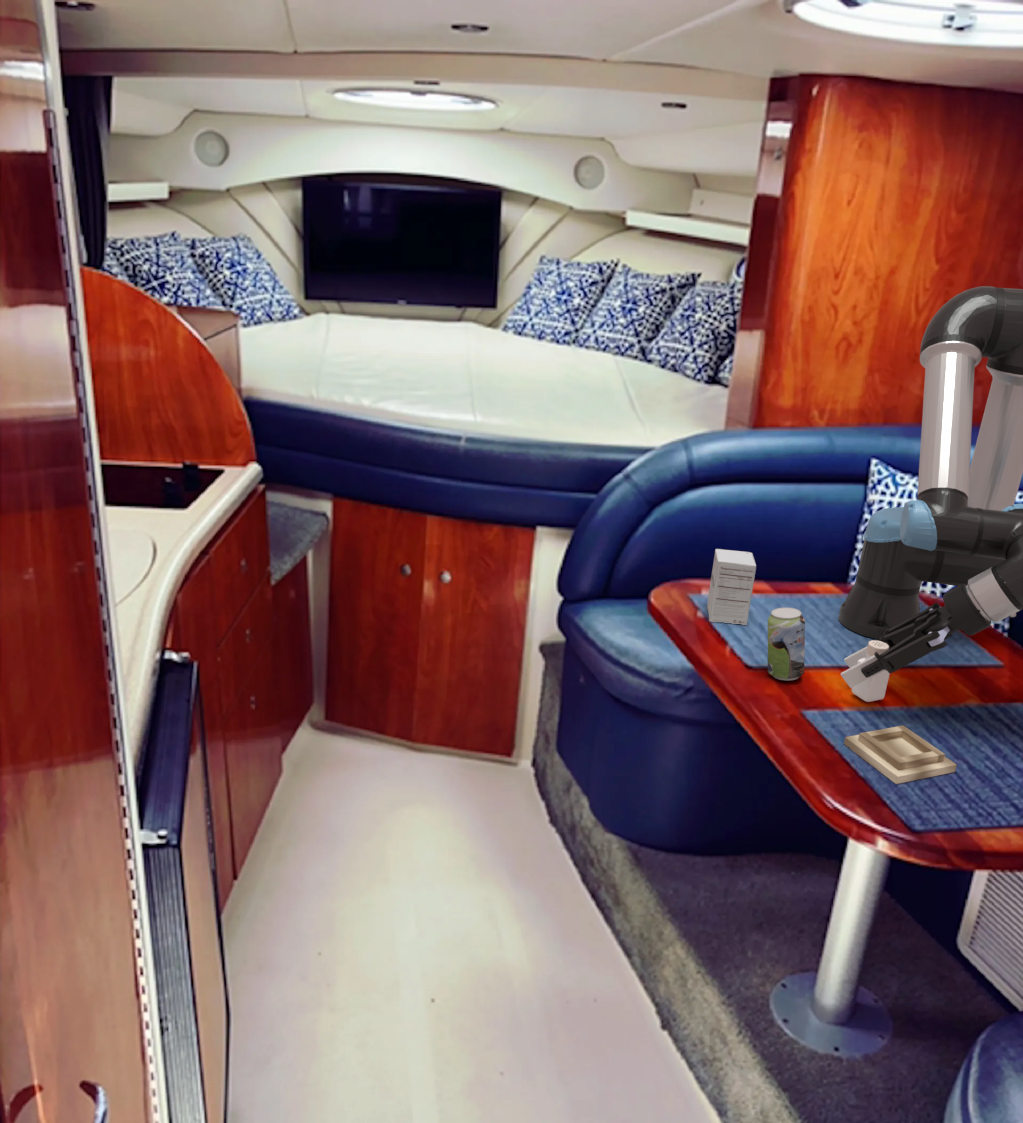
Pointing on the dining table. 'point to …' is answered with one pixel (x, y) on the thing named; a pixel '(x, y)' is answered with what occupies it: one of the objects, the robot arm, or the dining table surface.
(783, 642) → the beverage can
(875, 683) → the pepper shaker
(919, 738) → the tray
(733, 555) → the supplement box
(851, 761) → the dining table surface
